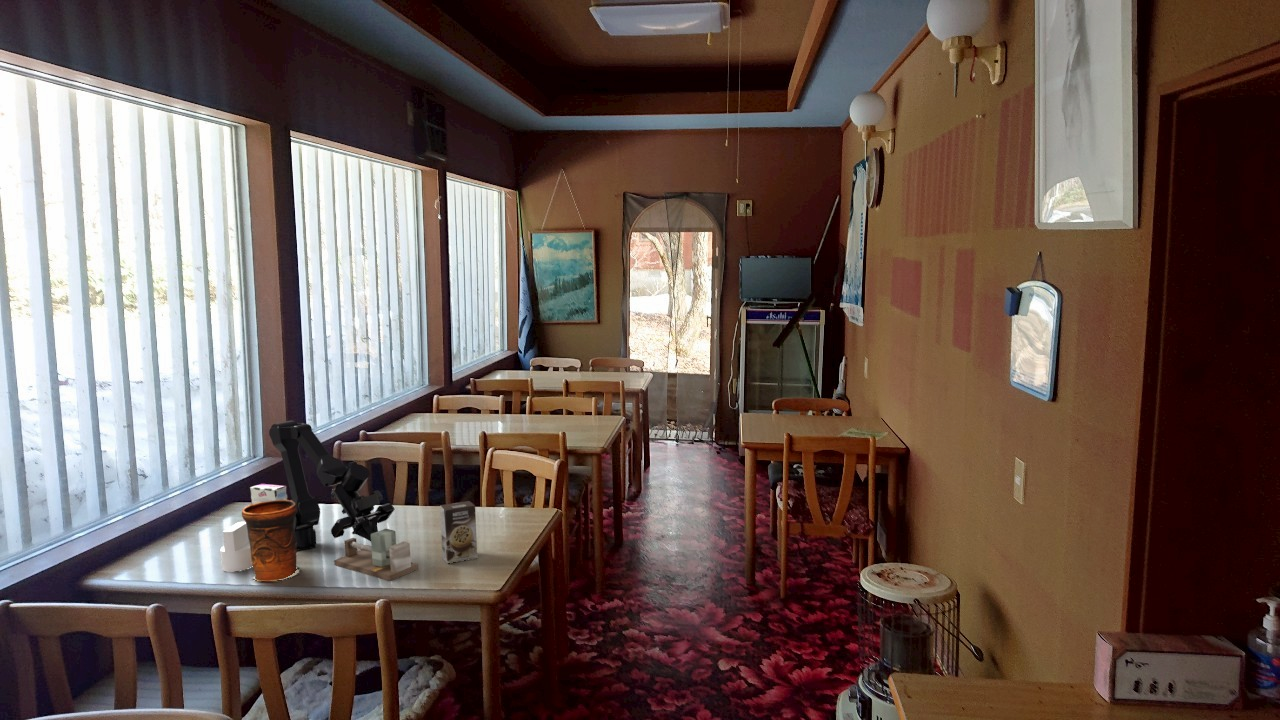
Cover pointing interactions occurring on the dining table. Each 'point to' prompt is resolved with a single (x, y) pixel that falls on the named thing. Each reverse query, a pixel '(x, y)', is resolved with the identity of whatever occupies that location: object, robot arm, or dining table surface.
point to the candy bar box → (267, 493)
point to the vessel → (272, 538)
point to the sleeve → (382, 546)
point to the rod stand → (364, 564)
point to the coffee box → (458, 531)
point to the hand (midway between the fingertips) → (378, 543)
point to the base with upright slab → (236, 548)
